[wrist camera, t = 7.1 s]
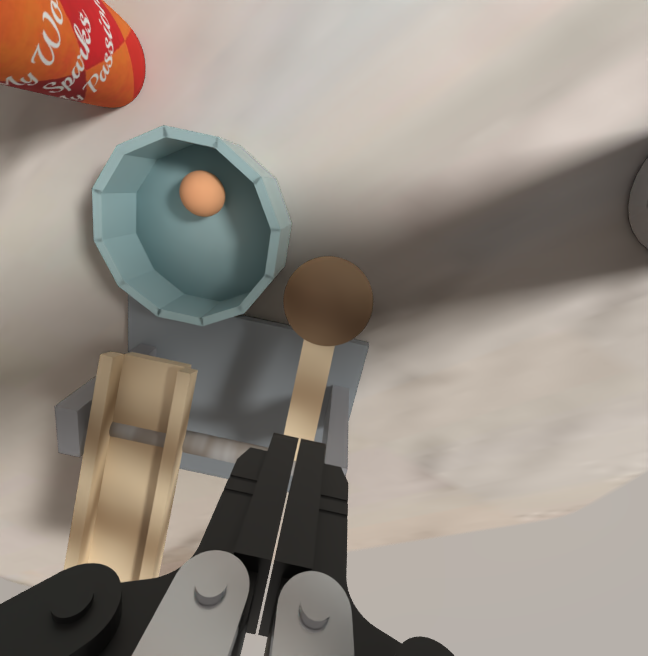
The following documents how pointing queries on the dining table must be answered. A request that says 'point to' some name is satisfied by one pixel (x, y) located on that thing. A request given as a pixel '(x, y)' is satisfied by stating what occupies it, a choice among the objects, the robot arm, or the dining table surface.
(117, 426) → the lever
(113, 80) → the paper cup
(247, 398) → the stand
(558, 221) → the dining table surface
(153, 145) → the bowl
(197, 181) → the ball
